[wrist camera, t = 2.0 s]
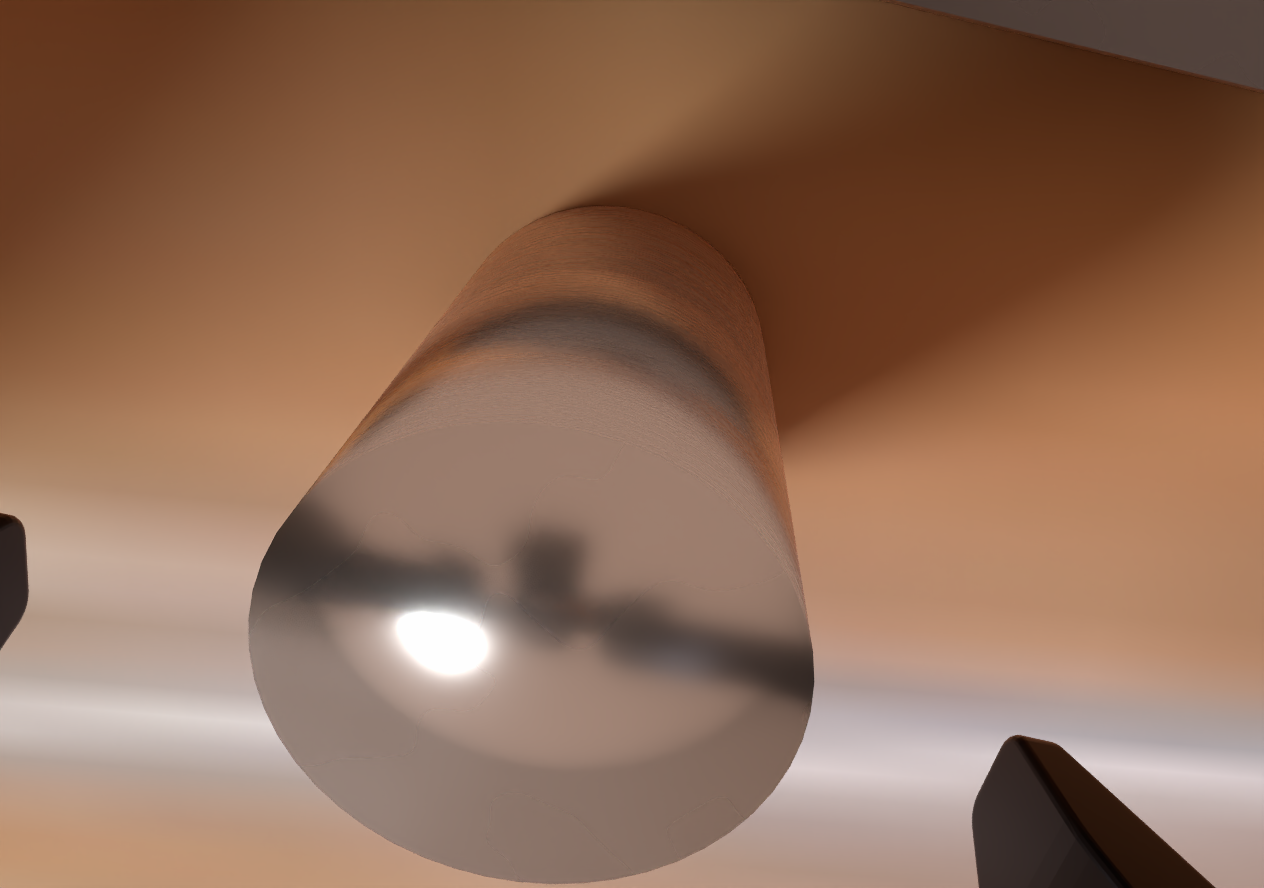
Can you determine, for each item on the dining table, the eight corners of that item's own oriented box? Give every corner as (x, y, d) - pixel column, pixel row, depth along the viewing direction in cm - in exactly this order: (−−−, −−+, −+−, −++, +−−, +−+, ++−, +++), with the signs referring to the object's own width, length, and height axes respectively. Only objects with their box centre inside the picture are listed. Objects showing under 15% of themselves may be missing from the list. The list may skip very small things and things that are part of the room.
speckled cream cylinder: (719, 527, 17) (730, 928, 10) (435, 462, 17) (236, 823, 10) (803, 247, 15) (894, 500, 8) (477, 171, 15) (264, 359, 8)
